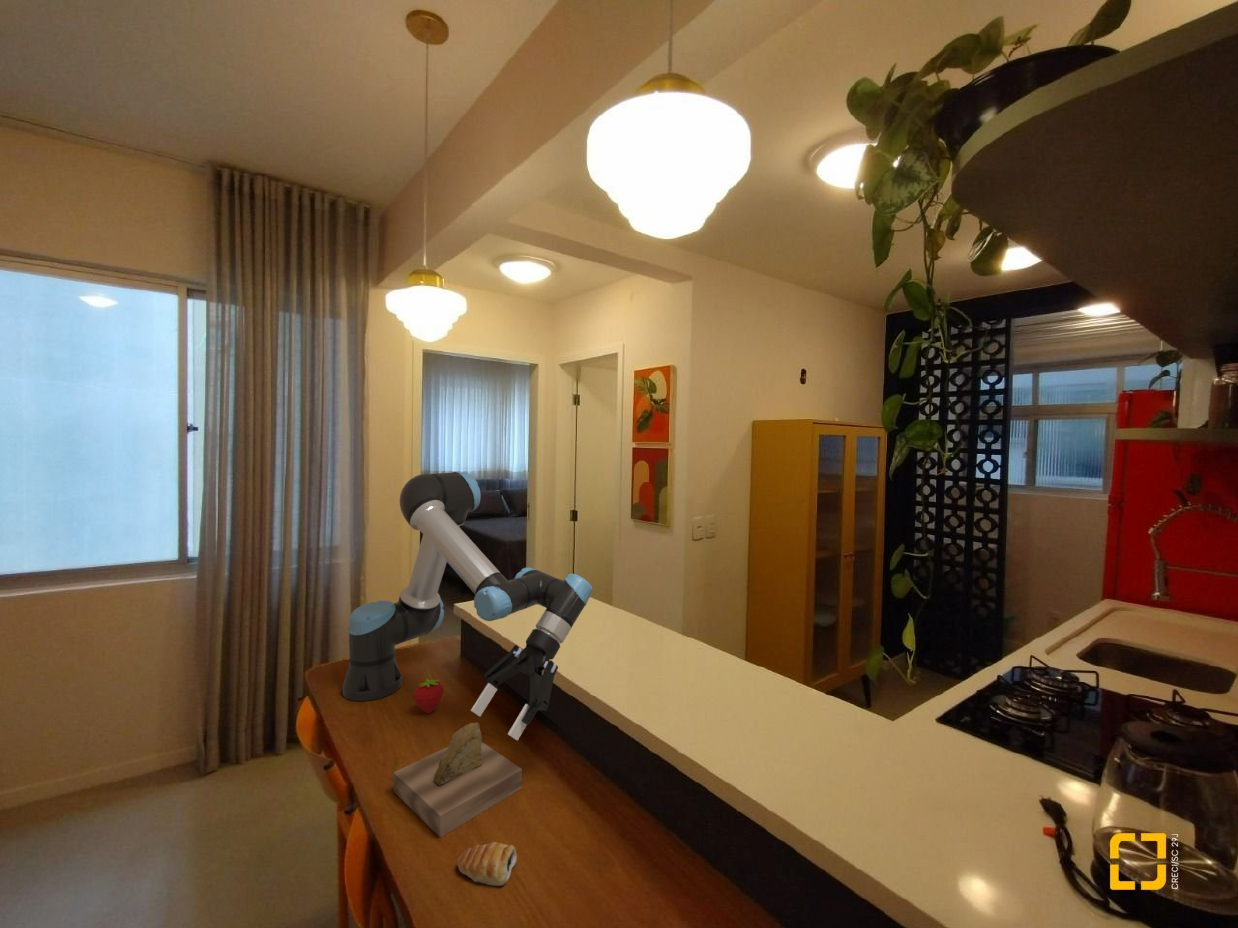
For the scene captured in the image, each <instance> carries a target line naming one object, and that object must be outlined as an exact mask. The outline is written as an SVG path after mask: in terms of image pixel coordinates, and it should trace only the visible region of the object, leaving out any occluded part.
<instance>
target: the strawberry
mask: <svg viewBox="0 0 1238 928" xmlns="http://www.w3.org/2000/svg"><path fill="white" fill-rule="evenodd" d="M427 675H428V676H429V678H430V679H428V678H426V680H425V682H421V683H418V687H417V688H416V689H415V690H414V694H413V699H414V702H415V703H416V705H417V706H418V707H419V708H420V709H421V710H423V711H424V712H425V713H426V714H432V713H433V711H434V709H436V707H437V706H438V705H439V703H440V701H441V699H442V698H443V694H444V691H445V690H444V686H443V684H442V683H440V681H441V680H440V679H435V680H434V679H432V677H431V675H430V674H429V673H428V674H427Z"/></svg>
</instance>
